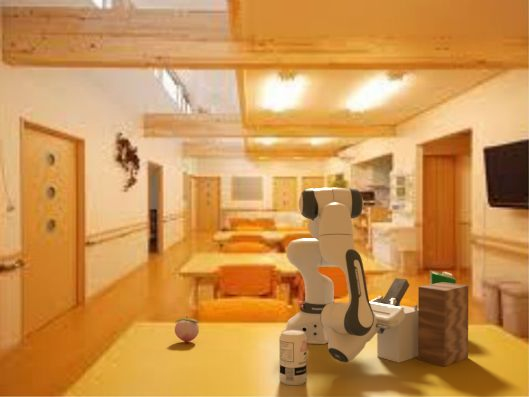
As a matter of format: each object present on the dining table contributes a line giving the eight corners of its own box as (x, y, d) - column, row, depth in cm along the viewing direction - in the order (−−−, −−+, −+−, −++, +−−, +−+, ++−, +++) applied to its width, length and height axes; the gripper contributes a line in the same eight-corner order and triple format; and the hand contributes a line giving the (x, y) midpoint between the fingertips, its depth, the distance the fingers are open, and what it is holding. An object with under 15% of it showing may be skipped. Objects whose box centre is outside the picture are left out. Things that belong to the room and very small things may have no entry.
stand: (444, 366, 190) (444, 290, 189) (418, 359, 197) (418, 286, 197) (467, 357, 200) (468, 285, 199) (442, 351, 207) (442, 282, 207)
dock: (398, 362, 194) (399, 309, 194) (377, 356, 201) (377, 305, 201) (422, 354, 203) (422, 304, 203) (401, 349, 210) (401, 300, 210)
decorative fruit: (201, 339, 223) (201, 313, 223) (196, 345, 215) (196, 318, 215) (177, 339, 224) (177, 313, 224) (172, 344, 216) (172, 318, 216)
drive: (382, 334, 191) (378, 327, 190) (371, 332, 194) (367, 325, 193) (409, 285, 203) (406, 279, 201) (398, 283, 206) (395, 277, 204)
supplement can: (278, 377, 179) (278, 329, 179) (304, 376, 180) (304, 328, 180) (281, 386, 171) (281, 336, 171) (308, 385, 172) (308, 335, 171)
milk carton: (455, 337, 227) (455, 273, 226) (431, 336, 228) (431, 273, 228) (452, 331, 235) (453, 270, 235) (429, 330, 237) (430, 269, 237)
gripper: (388, 322, 180) (411, 295, 188) (339, 311, 196) (361, 287, 203) (394, 337, 182) (416, 310, 190) (345, 326, 198) (367, 301, 206)
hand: (387, 298), depth 197 cm, fingers open, 4 cm apart
